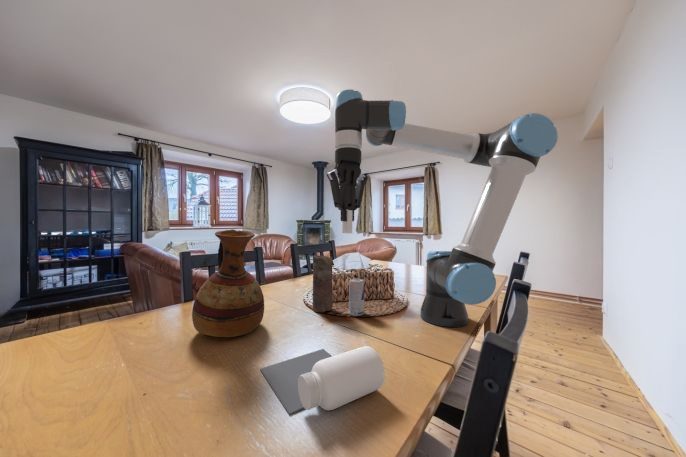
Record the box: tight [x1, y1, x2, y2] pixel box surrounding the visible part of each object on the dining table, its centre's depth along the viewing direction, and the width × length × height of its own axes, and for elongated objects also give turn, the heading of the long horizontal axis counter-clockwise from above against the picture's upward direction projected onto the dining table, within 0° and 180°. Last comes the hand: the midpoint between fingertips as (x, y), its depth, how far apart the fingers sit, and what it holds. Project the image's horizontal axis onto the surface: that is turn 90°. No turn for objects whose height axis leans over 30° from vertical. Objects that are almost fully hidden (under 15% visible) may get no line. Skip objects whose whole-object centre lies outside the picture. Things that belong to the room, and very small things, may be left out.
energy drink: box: [348, 277, 365, 317], centre depth 92 cm, size 5×5×12 cm
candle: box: [312, 254, 334, 313], centre depth 96 cm, size 8×7×20 cm
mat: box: [259, 348, 333, 416], centre depth 55 cm, size 16×16×1 cm
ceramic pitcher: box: [191, 229, 265, 338], centre depth 78 cm, size 20×20×30 cm
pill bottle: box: [298, 345, 386, 411], centre depth 48 cm, size 8×8×15 cm
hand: (347, 233), depth 74 cm, fingers closed
